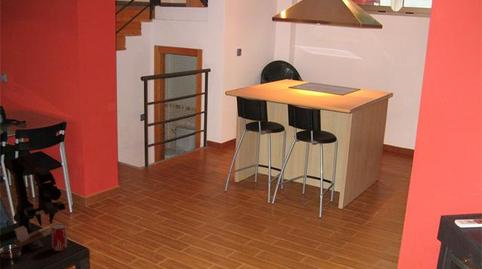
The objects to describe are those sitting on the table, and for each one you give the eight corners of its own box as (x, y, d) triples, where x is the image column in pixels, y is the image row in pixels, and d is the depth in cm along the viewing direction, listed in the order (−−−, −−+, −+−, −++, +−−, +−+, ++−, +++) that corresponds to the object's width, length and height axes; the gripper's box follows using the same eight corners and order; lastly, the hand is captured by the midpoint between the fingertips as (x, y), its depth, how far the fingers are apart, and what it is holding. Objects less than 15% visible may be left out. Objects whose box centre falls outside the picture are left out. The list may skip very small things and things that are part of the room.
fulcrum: (26, 243, 261) (25, 237, 260) (38, 241, 264) (38, 234, 264) (31, 249, 255) (31, 242, 254) (43, 246, 258) (43, 240, 258)
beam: (14, 243, 256) (13, 240, 255) (49, 228, 266) (49, 225, 265) (18, 247, 251) (17, 245, 251) (54, 232, 261) (53, 229, 261)
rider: (17, 239, 256) (14, 229, 254) (26, 236, 258) (23, 225, 256) (20, 243, 252) (17, 232, 250) (29, 239, 255) (26, 228, 253)
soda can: (62, 252, 252) (61, 229, 250) (49, 251, 254) (48, 228, 251) (70, 246, 259) (69, 224, 257) (57, 245, 260) (56, 222, 258)
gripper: (30, 203, 246) (31, 234, 249) (68, 196, 257) (69, 225, 261) (23, 197, 254) (24, 226, 257) (60, 190, 266) (61, 219, 269)
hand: (45, 224), depth 261 cm, fingers open, 4 cm apart
